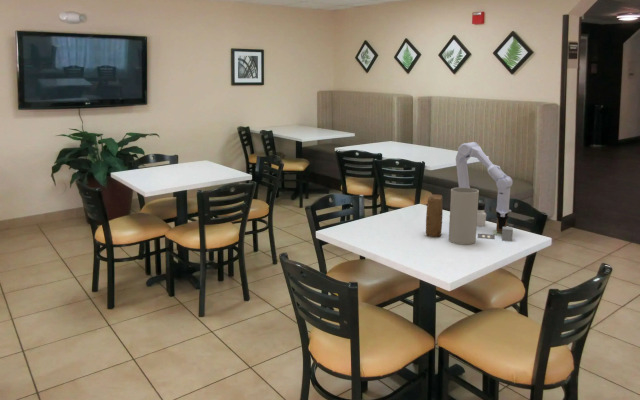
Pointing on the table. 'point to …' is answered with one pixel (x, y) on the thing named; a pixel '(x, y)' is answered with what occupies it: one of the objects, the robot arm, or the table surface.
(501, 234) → the sage mat
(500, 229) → the walnut block
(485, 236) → the tile
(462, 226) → the cylinder vase
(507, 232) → the slate block
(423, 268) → the table surface
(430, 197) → the block
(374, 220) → the table surface
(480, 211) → the medicine bottle
